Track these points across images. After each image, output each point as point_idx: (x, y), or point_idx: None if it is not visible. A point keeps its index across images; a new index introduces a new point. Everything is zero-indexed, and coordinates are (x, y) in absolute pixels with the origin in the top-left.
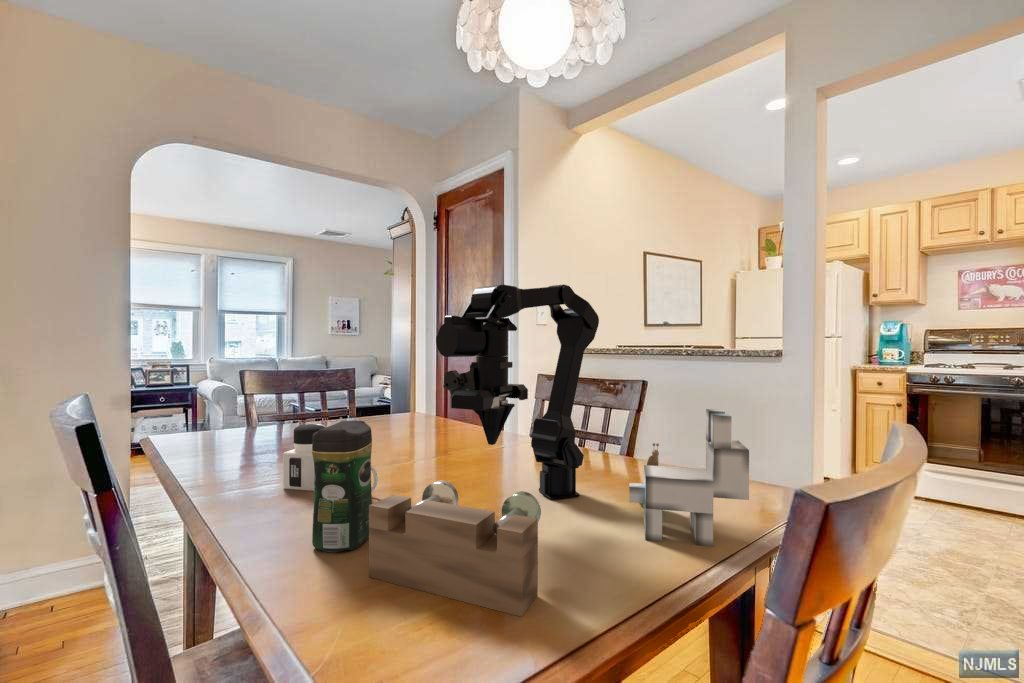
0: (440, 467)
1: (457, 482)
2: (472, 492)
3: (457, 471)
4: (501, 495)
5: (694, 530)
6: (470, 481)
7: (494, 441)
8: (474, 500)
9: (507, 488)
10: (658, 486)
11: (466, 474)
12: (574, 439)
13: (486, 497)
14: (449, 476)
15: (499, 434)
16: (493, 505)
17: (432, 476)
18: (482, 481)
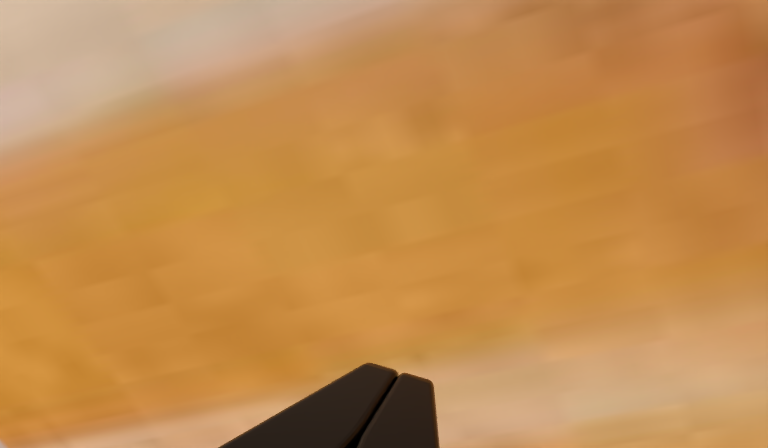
0: (14, 435)
1: (125, 343)
2: (206, 252)
3: (8, 371)
4: (167, 97)
5: None
6: (79, 296)
7: (424, 405)
8: (308, 214)
9: (53, 98)
10: None
11: (14, 331)
12: None
13: (237, 167)
14: (80, 387)
15: (276, 425)
16: (337, 93)
17: (122, 442)
18: (45, 246)
